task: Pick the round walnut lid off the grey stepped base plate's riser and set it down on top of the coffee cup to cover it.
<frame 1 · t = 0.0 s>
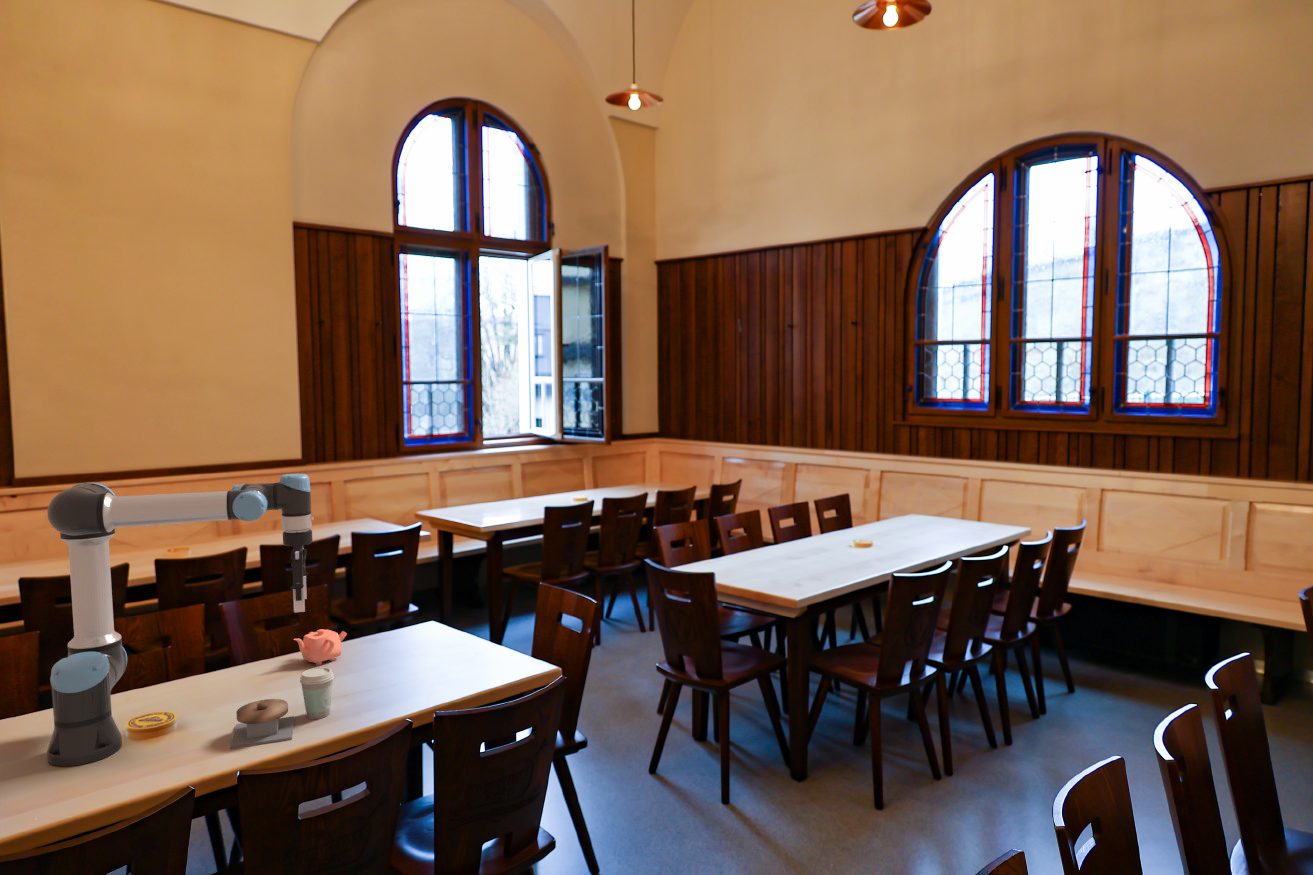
hand: (300, 605, 232), 28 cm above the table, fingers open, 13 cm apart
grey stepped base plate: (263, 732, 215), on the table
lid: (262, 714, 215), point 5 cm above the table, touching grey stepped base plate
coffee cup: (318, 715, 226), on the table
teapot: (321, 661, 269), on the table
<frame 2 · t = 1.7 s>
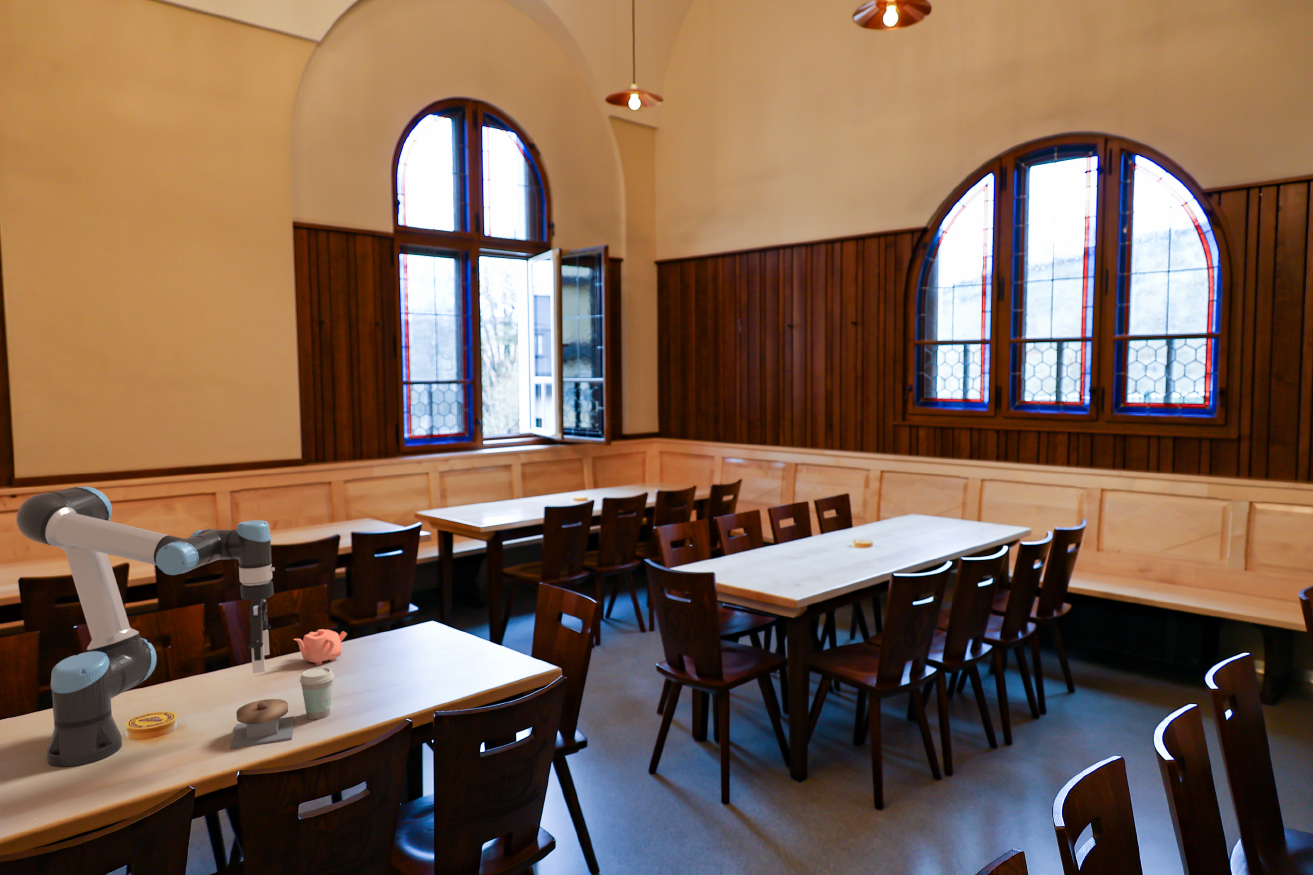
hand: (261, 663, 214), 18 cm above the table, fingers open, 13 cm apart
nothing on the table moved.
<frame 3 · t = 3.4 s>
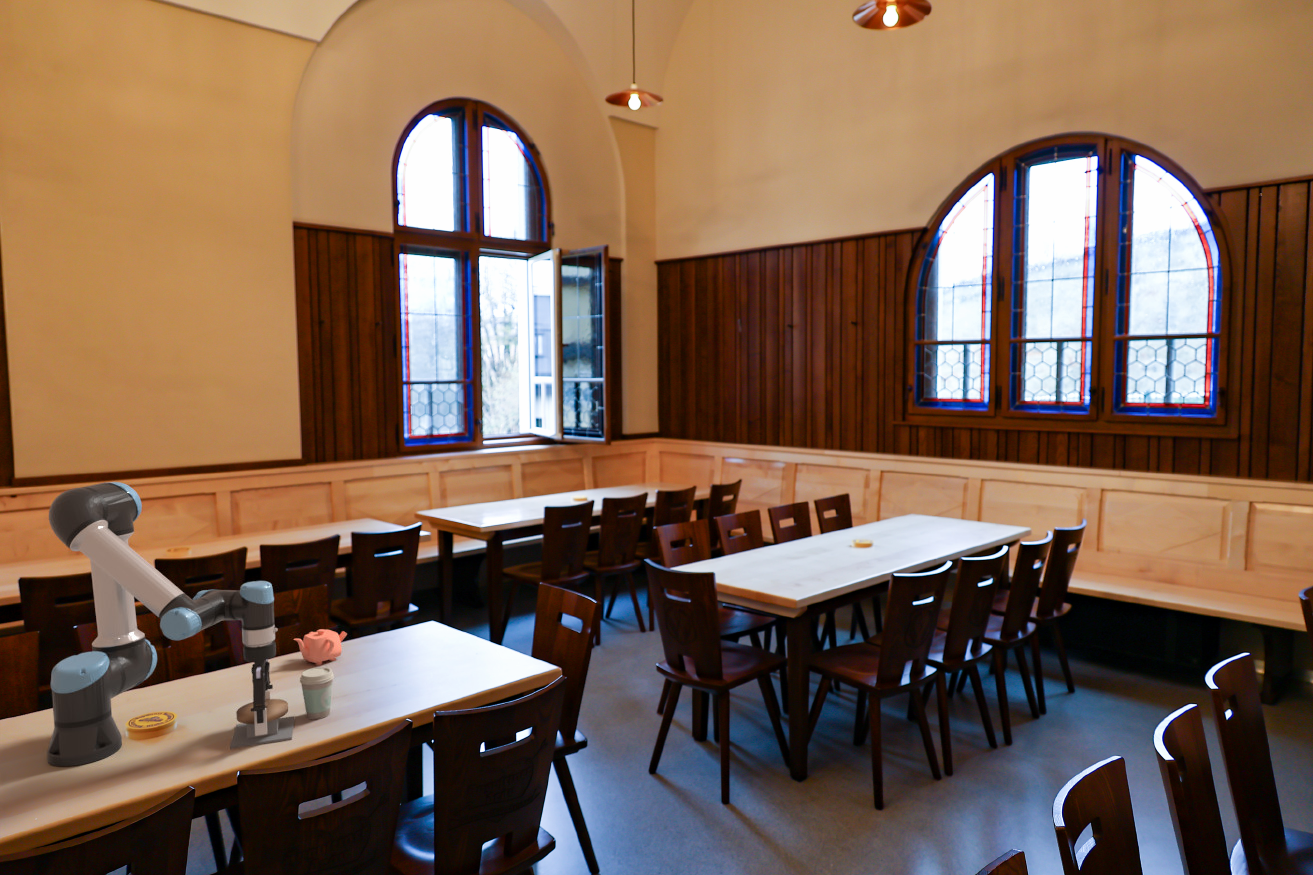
hand: (263, 724, 215), 2 cm above the table, fingers closed on lid, 12 cm apart
lid: (262, 714, 215), point 5 cm above the table, touching gripper, grey stepped base plate
everything else where it was.
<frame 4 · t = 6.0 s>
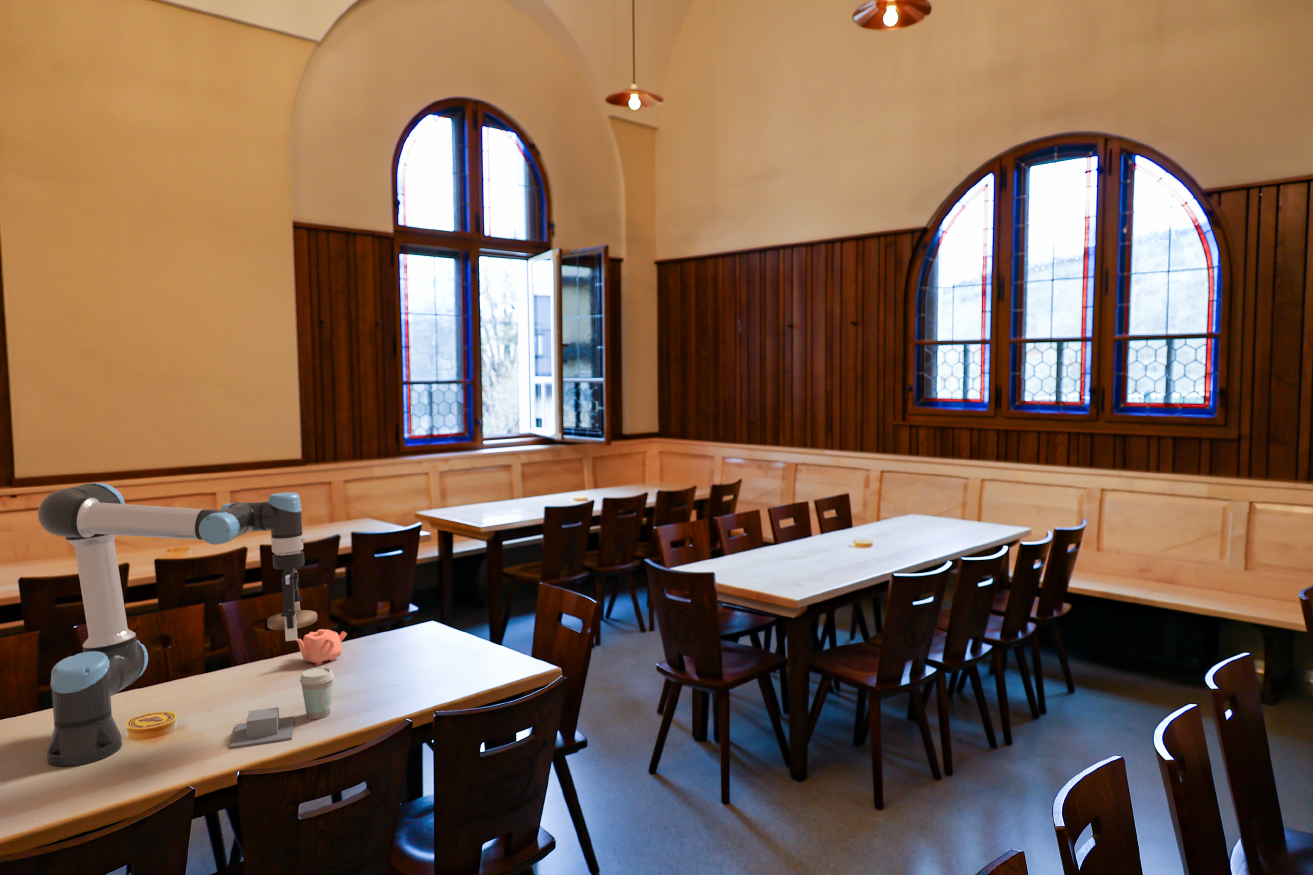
hand: (293, 633, 219), 24 cm above the table, fingers closed on lid, 12 cm apart
lid: (292, 622, 219), point 27 cm above the table, touching gripper
everything else where it was.
when the fingers open (11 cm above the table, at t = 8.9 s): lid drops 2 cm, resting on coffee cup.
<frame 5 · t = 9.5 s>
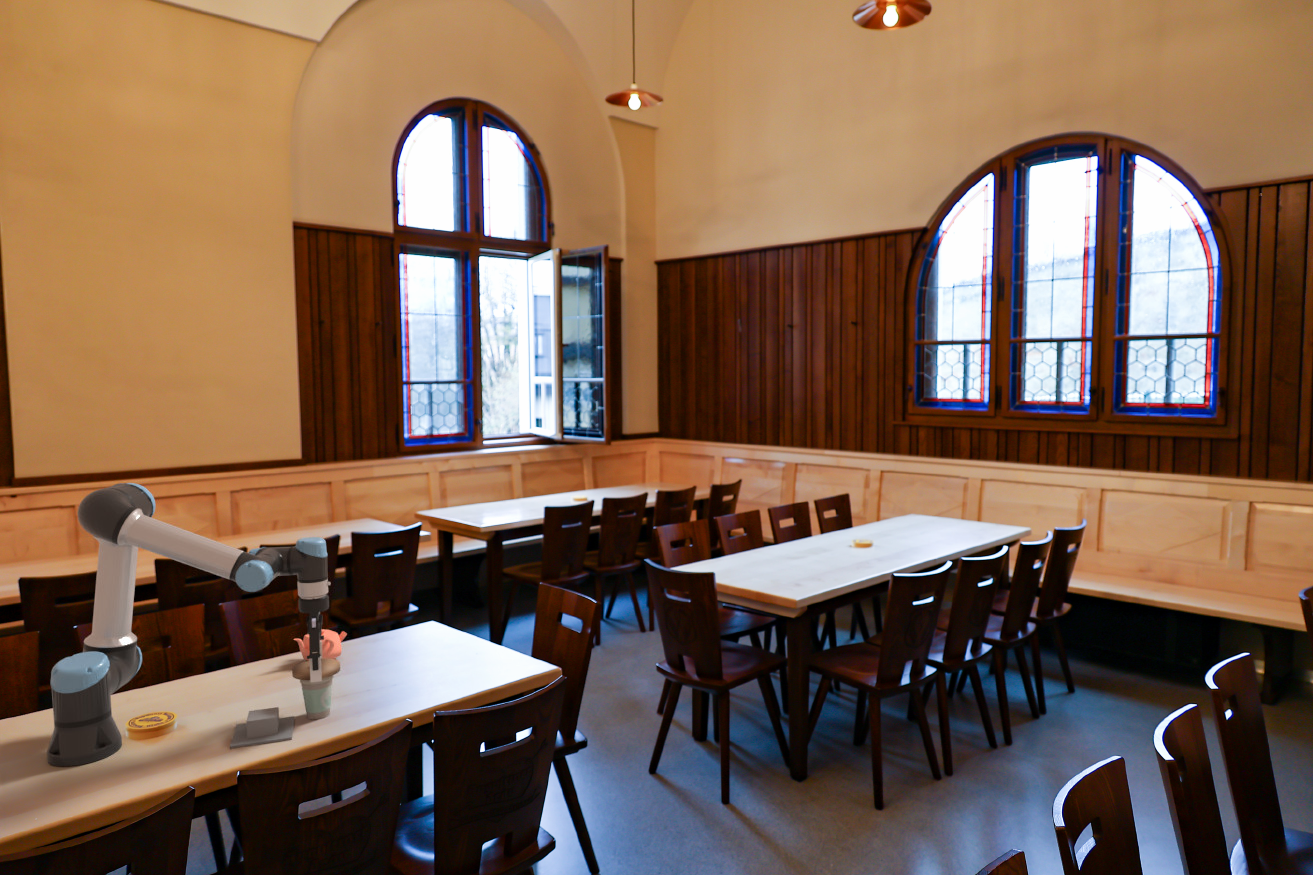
hand: (316, 672, 225), 12 cm above the table, fingers open, 13 cm apart
lid: (316, 671, 225), point 12 cm above the table, touching coffee cup
coffee cup: (318, 715, 226), on the table, touching lid
everything else where it was.
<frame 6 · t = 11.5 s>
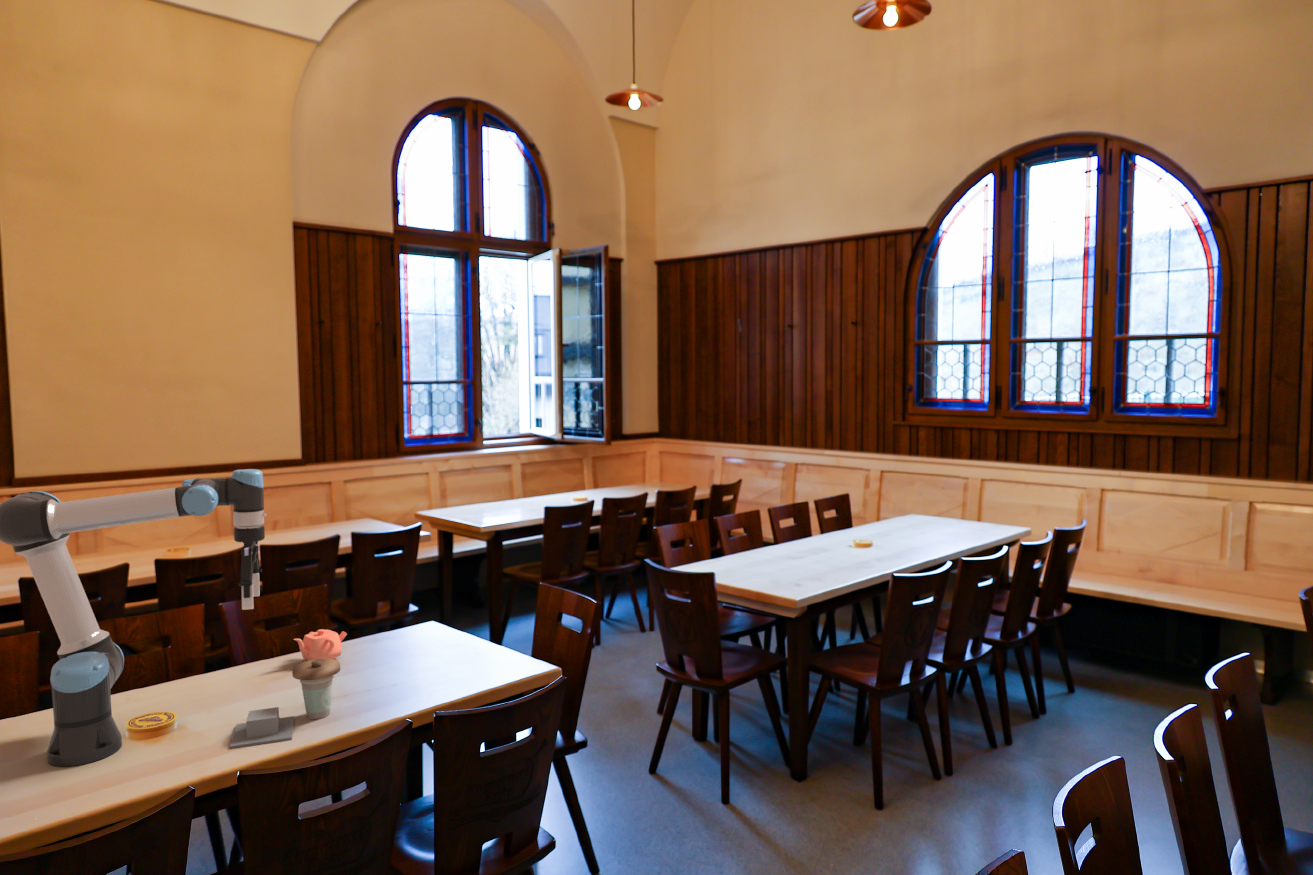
hand: (251, 602, 229), 30 cm above the table, fingers open, 13 cm apart
nothing on the table moved.
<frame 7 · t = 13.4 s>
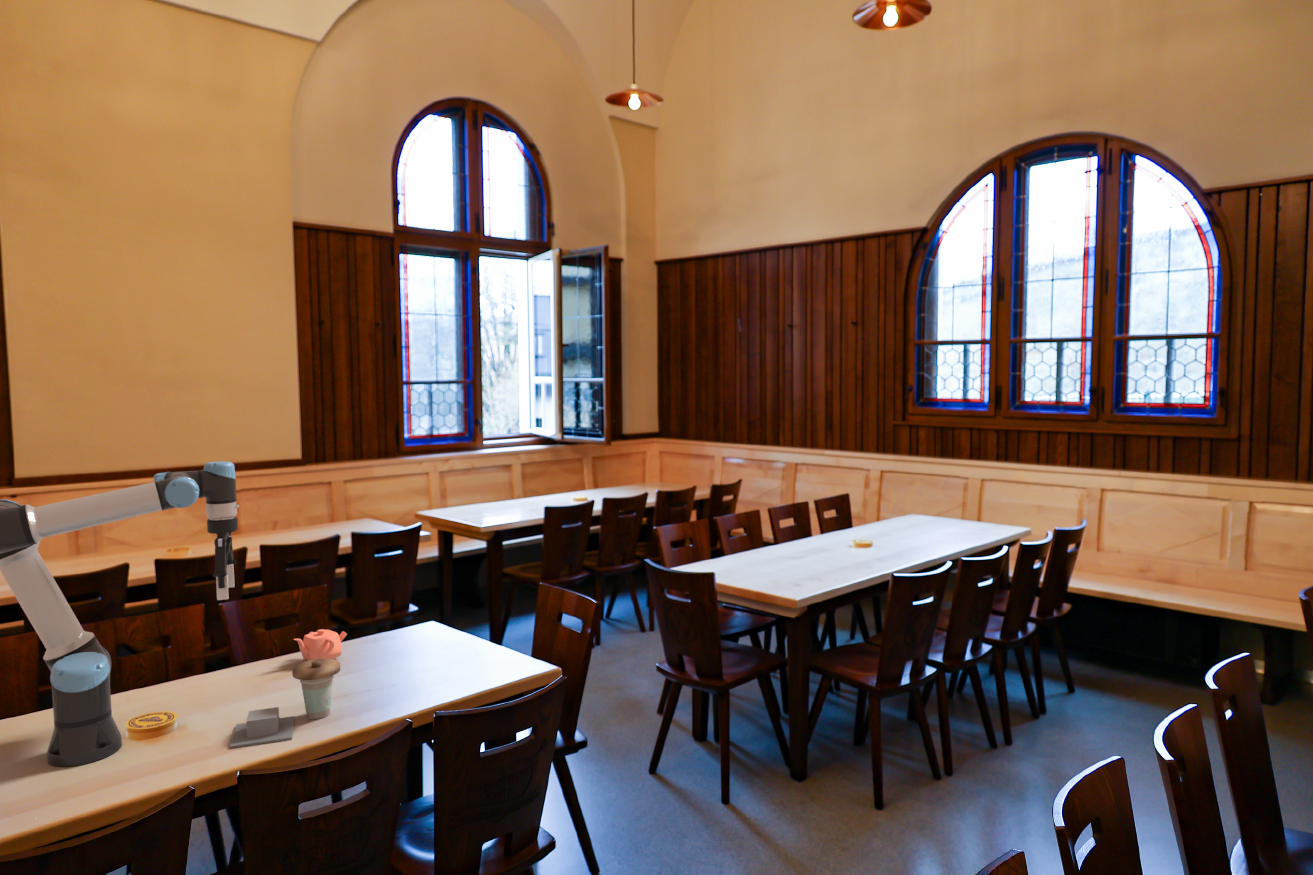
hand: (226, 593, 232), 32 cm above the table, fingers open, 13 cm apart
nothing on the table moved.
at the end: lid 0.1 cm off-centre in the coffee cup, point 12.2 cm above the coffee cup's base; lid tilted 0°; the gripper is holding nothing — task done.
